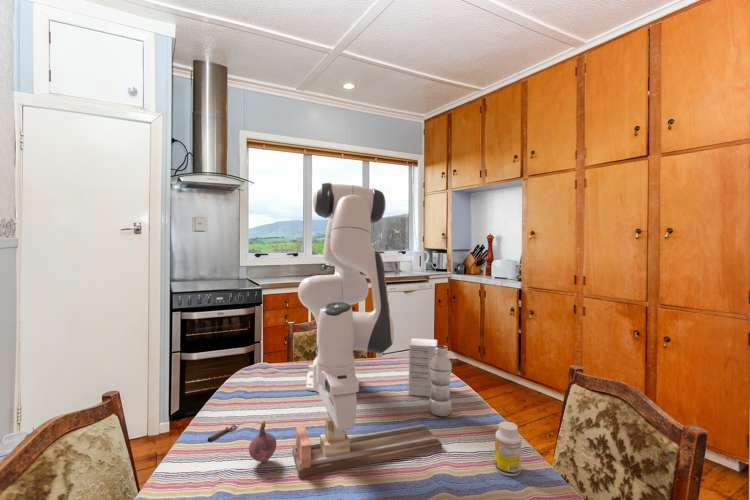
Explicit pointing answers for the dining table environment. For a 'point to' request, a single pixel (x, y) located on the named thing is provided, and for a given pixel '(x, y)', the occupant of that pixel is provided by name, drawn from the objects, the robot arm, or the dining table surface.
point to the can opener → (222, 432)
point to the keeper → (333, 440)
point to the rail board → (363, 449)
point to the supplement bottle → (508, 449)
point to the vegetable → (262, 445)
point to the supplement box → (420, 366)
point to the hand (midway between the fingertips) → (334, 431)
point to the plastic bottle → (440, 382)
